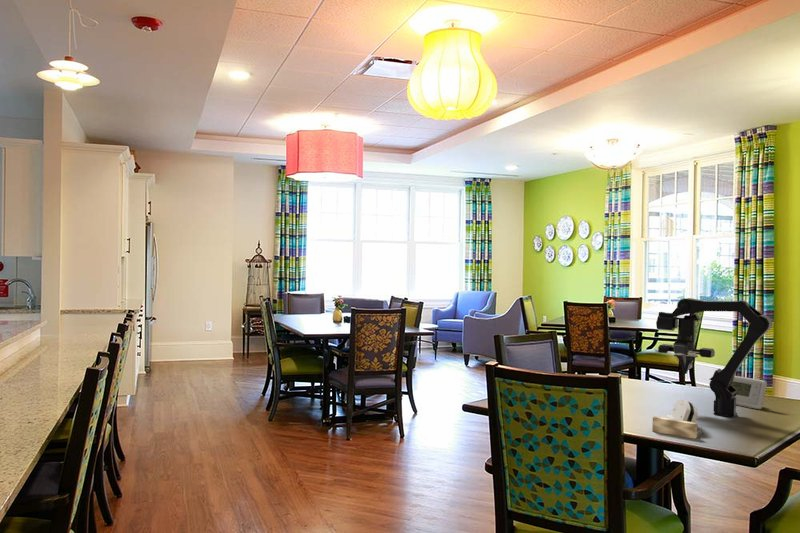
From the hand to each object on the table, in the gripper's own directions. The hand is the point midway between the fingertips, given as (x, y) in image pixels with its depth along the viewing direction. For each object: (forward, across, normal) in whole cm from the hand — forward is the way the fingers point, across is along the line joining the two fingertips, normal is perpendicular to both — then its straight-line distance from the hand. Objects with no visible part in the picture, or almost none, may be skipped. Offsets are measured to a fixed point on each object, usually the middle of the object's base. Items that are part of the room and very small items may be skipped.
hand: (685, 373), depth 247 cm
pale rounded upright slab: (+13, +7, -29) cm, 32 cm away
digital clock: (+13, +16, +22) cm, 30 cm away
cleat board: (+13, +8, -38) cm, 41 cm away
